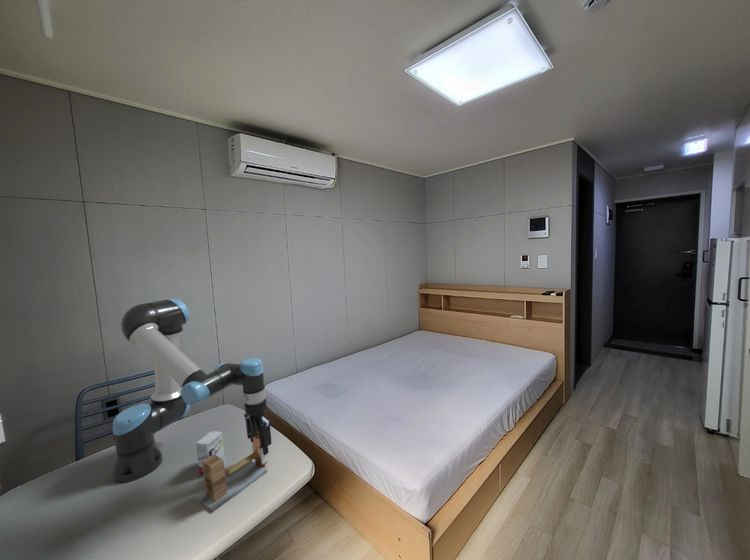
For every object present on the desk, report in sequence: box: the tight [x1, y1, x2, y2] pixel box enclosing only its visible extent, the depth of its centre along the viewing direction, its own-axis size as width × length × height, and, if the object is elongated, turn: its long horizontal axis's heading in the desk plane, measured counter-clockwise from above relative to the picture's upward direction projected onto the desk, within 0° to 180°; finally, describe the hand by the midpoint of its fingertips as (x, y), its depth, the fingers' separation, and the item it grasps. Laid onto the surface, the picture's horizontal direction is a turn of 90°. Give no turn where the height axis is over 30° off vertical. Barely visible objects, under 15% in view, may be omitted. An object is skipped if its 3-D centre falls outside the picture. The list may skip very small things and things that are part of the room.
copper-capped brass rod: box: [224, 433, 268, 477], centre depth 109 cm, size 4×15×11 cm, turn 145°
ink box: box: [195, 430, 226, 474], centre depth 116 cm, size 9×5×12 cm, turn 168°
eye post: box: [196, 454, 268, 513], centre depth 105 cm, size 10×20×13 cm, turn 145°
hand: (261, 459), depth 114 cm, fingers closed on copper-capped brass rod, 4 cm apart
